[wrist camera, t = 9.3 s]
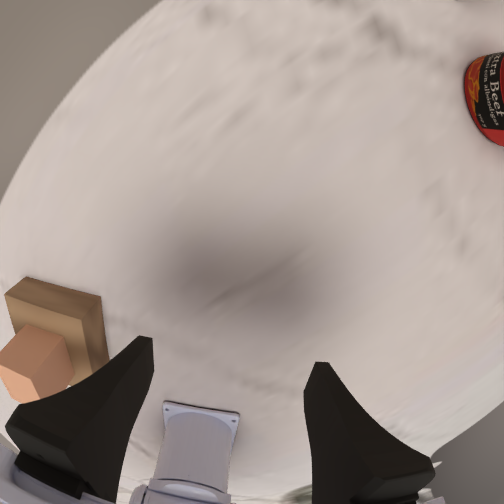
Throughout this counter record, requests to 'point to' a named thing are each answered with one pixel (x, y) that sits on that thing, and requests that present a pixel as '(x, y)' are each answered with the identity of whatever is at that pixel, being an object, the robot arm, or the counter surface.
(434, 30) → the counter surface
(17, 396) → the terracotta block
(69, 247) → the counter surface
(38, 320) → the walnut base block
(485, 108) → the canned food
